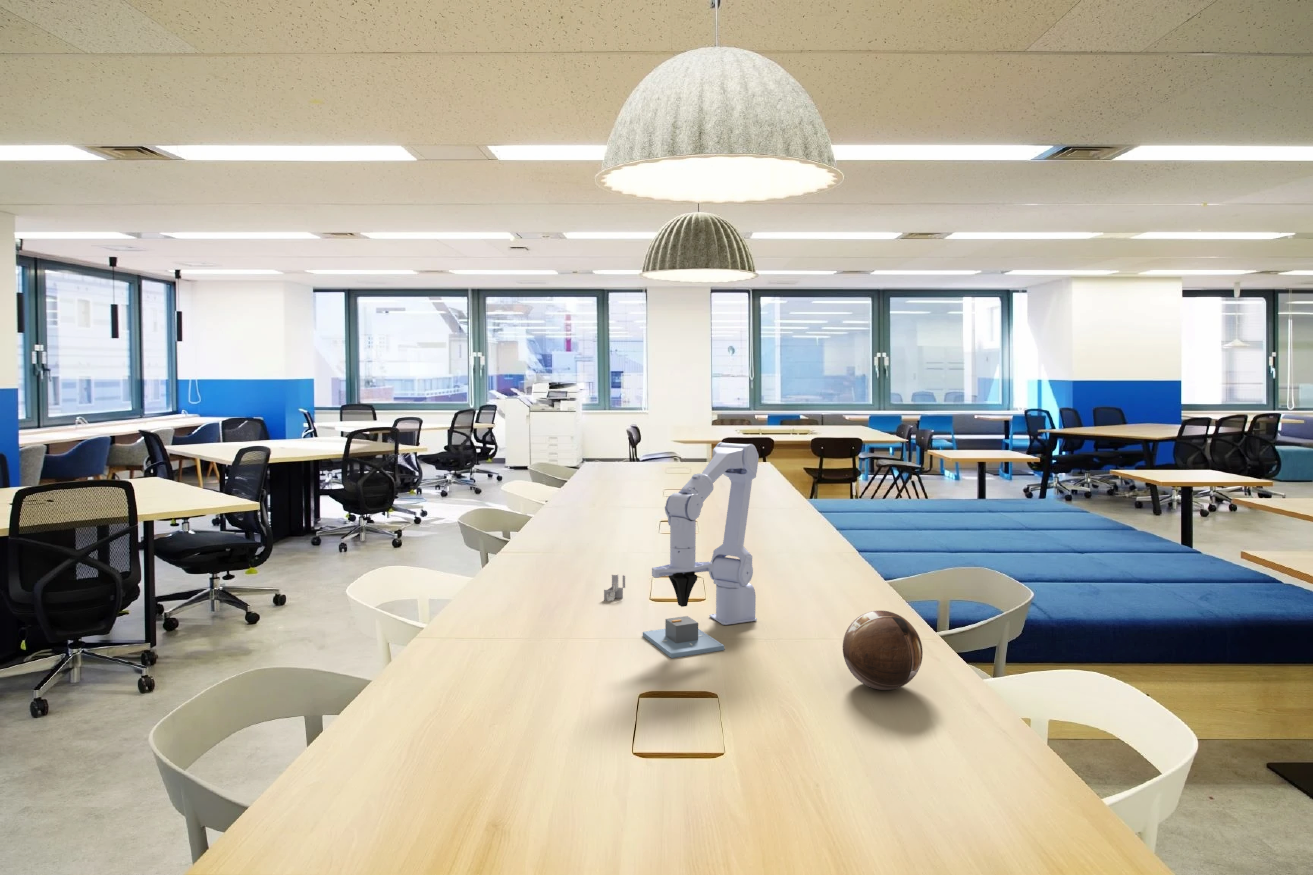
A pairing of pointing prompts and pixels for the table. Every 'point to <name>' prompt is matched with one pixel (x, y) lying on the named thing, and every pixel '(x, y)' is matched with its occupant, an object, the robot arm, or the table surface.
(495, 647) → the table surface
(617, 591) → the architectural model
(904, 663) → the wooden sphere
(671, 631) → the grey drawer cabinet
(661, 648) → the plate
